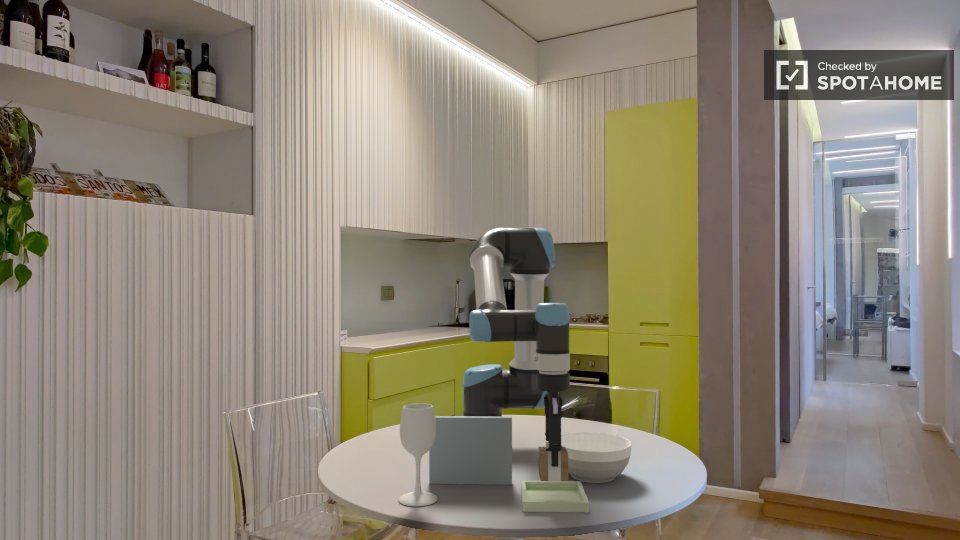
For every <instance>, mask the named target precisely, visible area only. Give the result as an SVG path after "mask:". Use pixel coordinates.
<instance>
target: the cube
mask: <svg viewBox="0 0 960 540" xmlns="http://www.w3.org/2000/svg"><path fill="white" fill-rule="evenodd" d="M546 448H548V447H546V446H538V475H539V479H540V480H539V481H548V451H546ZM561 481H569V473H568V452H567V450H566V448H565V447H562V450H561Z"/></svg>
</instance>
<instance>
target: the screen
mask: <svg viewBox="0 0 960 540" xmlns="http://www.w3.org/2000/svg"><path fill="white" fill-rule="evenodd" d="M435 419H436V439H435V443H434V445H433V446H432V448H431V449H430V450H429V451H428V452H429V453H428V454H429V456H428V461H429V462H428V463H429V465H428V470H429V471H428V477H429V478H428V479H429V480H428V481H429V485H498V486H499V485H505V486H507V485H508V486H512V485H513V417H512V416H502V417H494V416H463V415H460V416H459V415H458V416H457V415H453V416H452V415H444V416H443V415H442V416H441V415H435Z"/></svg>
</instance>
